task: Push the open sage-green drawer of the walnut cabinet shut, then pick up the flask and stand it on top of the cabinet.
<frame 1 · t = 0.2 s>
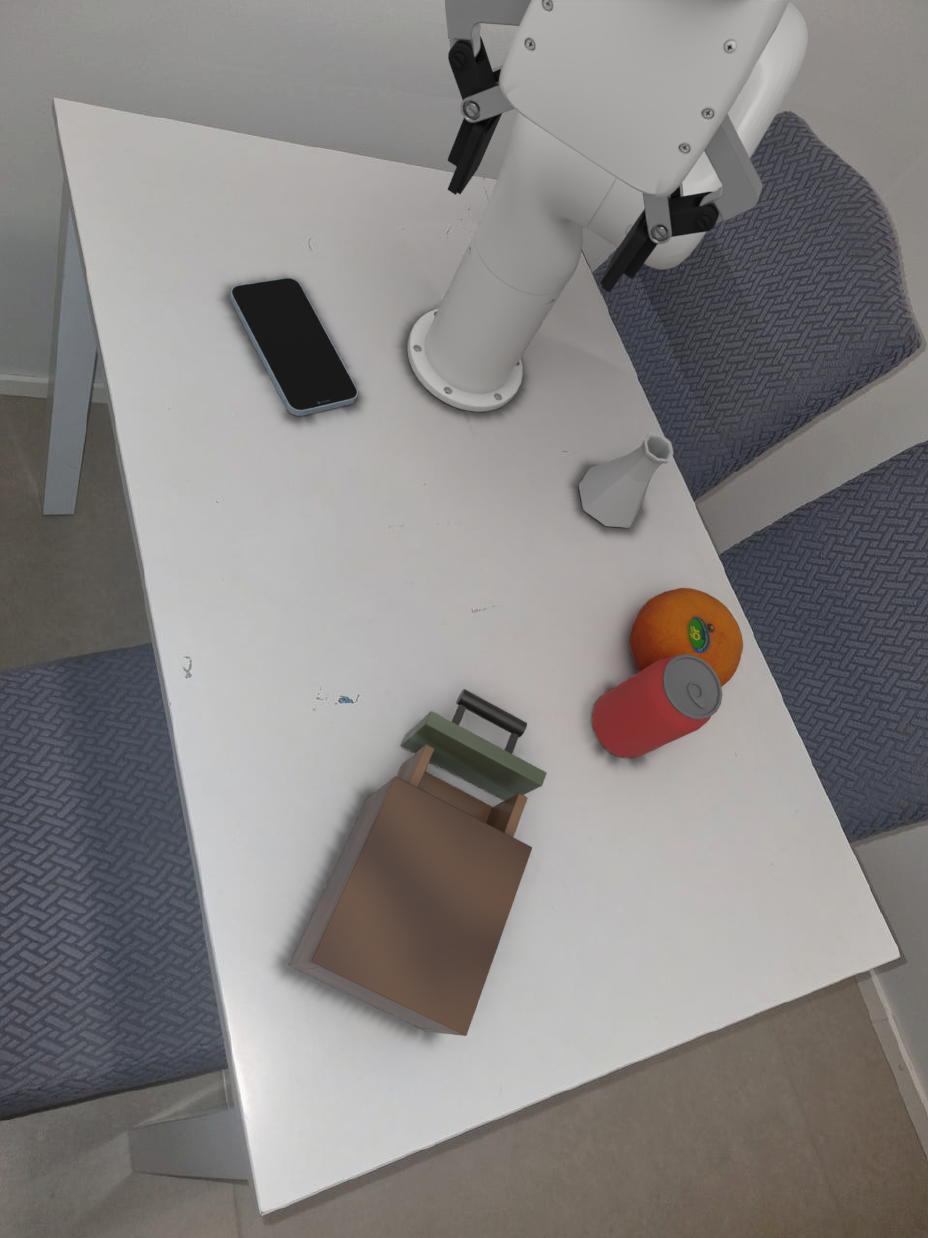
hand: (537, 227, 48), 37 cm above the table, tool pointing down, fingers open, 9 cm apart
beer can: (619, 726, 81), on the table
cabinet: (395, 911, 67), on the table
fruit: (661, 657, 86), on the table
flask: (607, 499, 91), on the table
drawer: (455, 797, 68), point 4 cm above the table, slide at 5.0 cm
smartphone: (292, 348, 84), on the table
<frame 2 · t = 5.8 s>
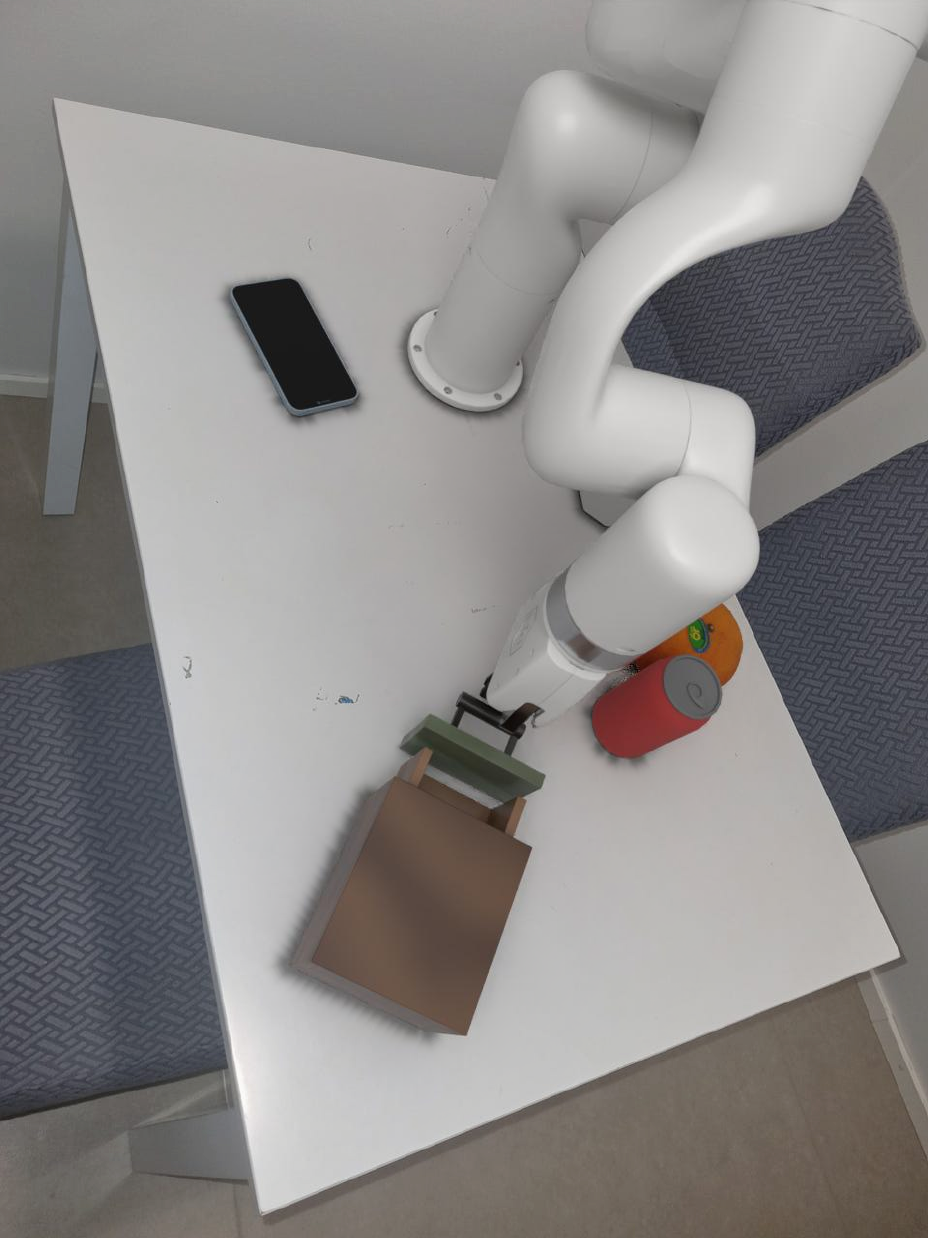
hand: (497, 696, 73), 4 cm above the table, tool pointing down, fingers closed
drawer: (454, 800, 68), point 4 cm above the table, slide at 4.8 cm, touching gripper
everything else where it was.
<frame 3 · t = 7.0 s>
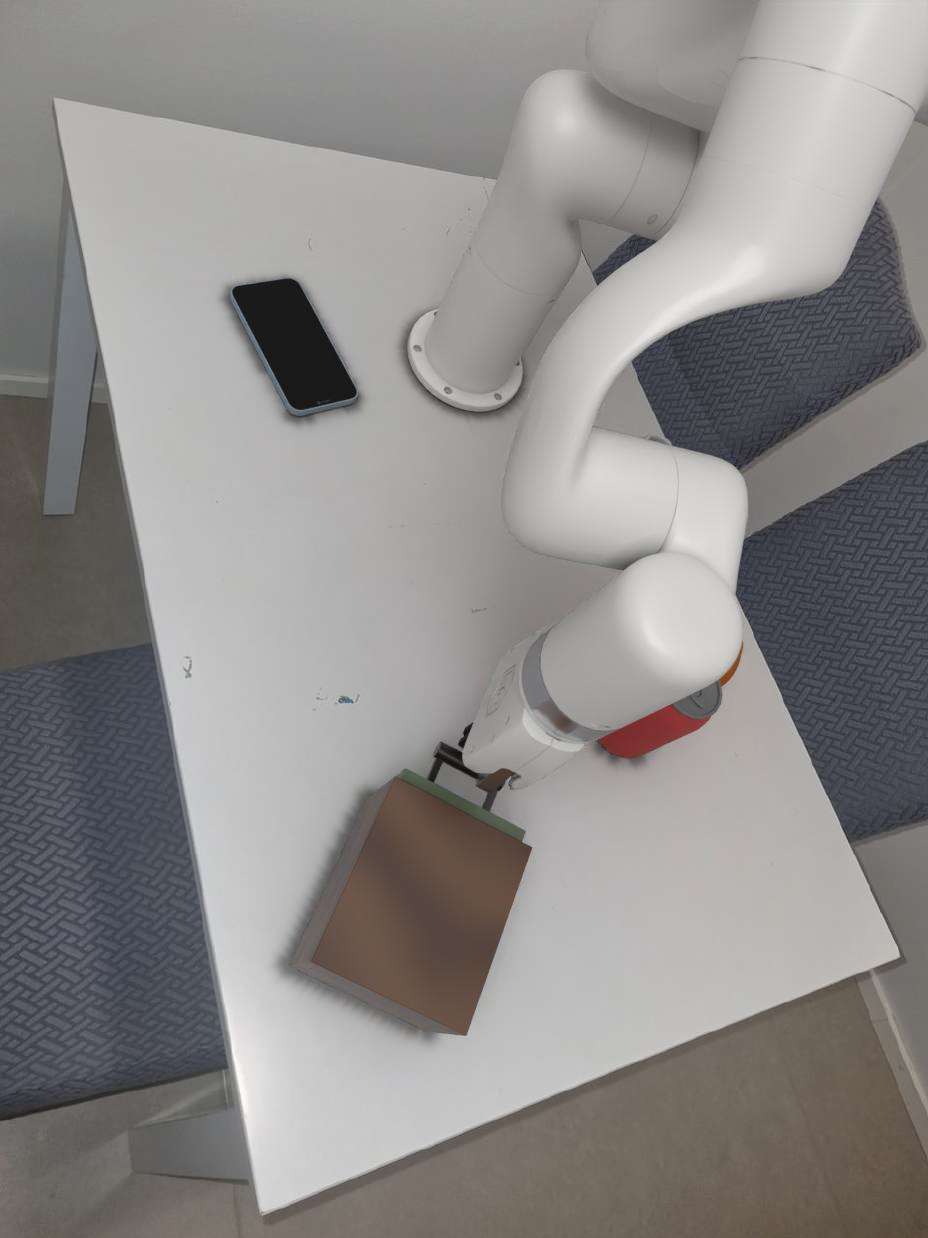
hand: (477, 745, 70), 4 cm above the table, tool pointing down, fingers closed
drawer: (431, 857, 65), point 4 cm above the table, slide at 0.0 cm, touching cabinet, gripper
everything else where it was.
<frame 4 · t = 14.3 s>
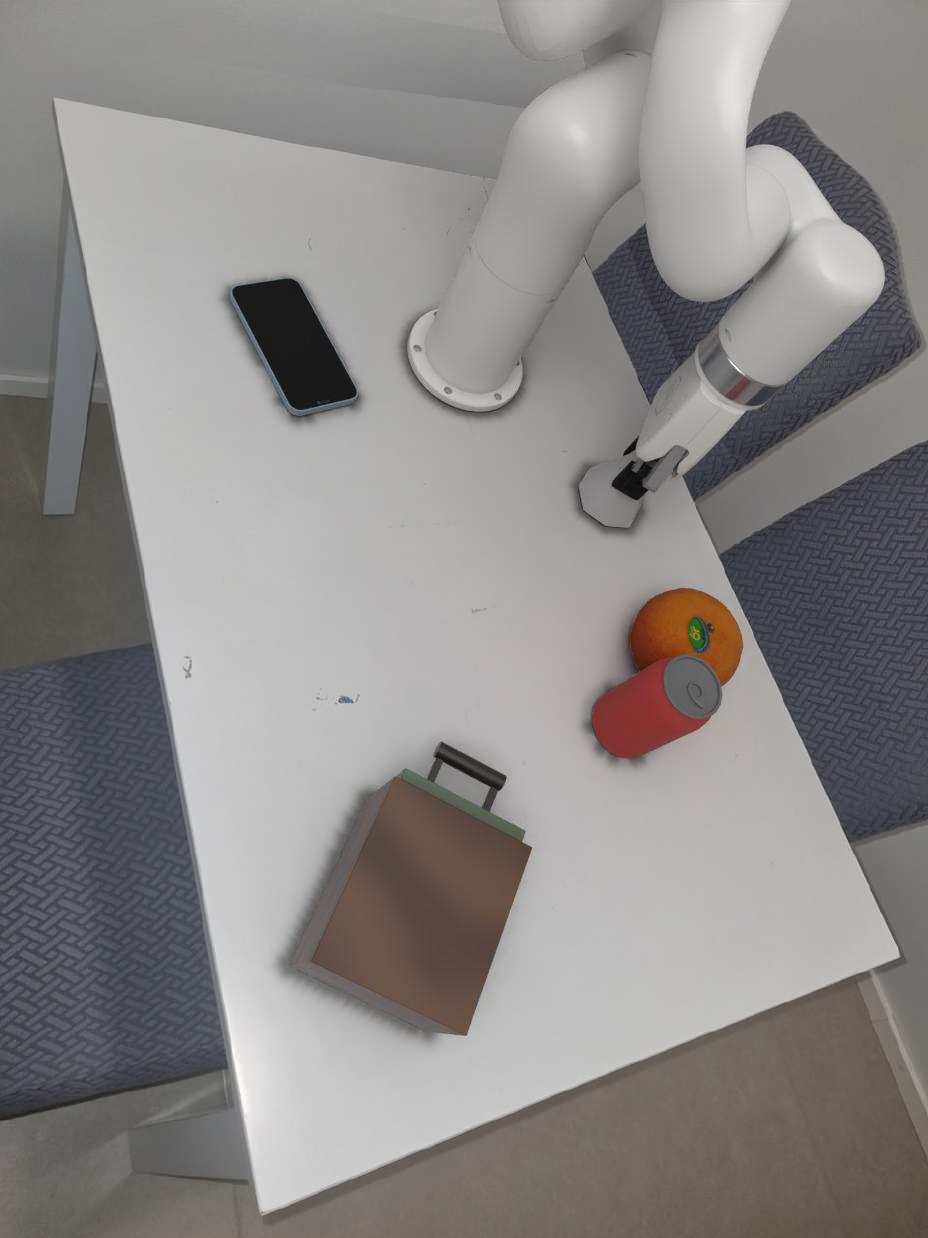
hand: (630, 476, 87), 5 cm above the table, tool pointing down, fingers closed on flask, 3 cm apart
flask: (607, 499, 91), on the table, touching gripper
drawer: (431, 857, 65), point 4 cm above the table, slide at 0.0 cm
everything else where it was.
when the fingers open (13 cm above the table, at t = 22.0 s): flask stays where it is, resting on cabinet.
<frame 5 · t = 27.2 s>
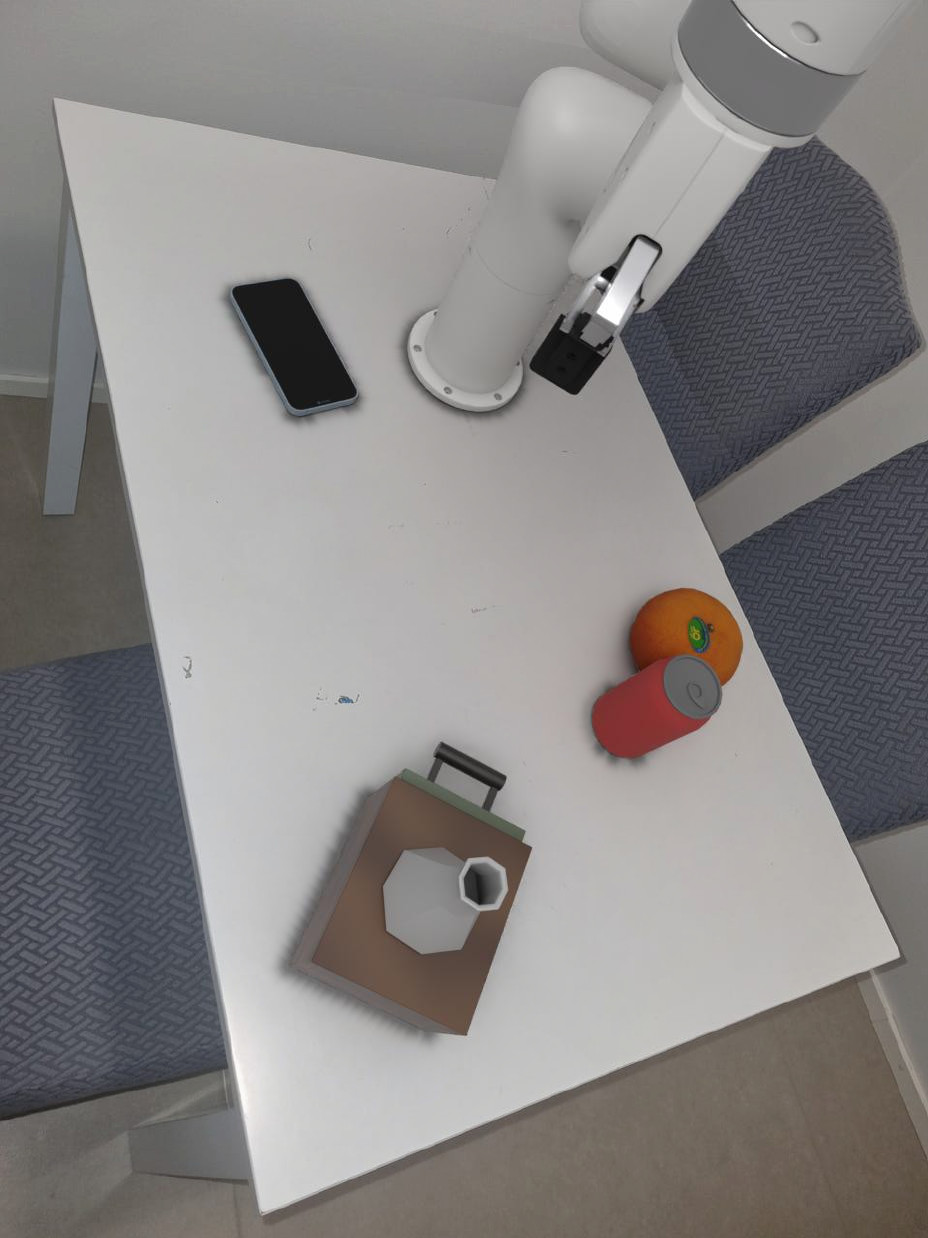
hand: (578, 324, 51), 33 cm above the table, tool pointing down, fingers open, 9 cm apart
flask: (430, 900, 60), point 8 cm above the table, touching cabinet
everything else where it was.
at the end: drawer slide at 0.0 cm; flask inside the target area on the cabinet (0.1 cm from its centre), point 8.4 cm above the cabinet's base; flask tilted 0° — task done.
